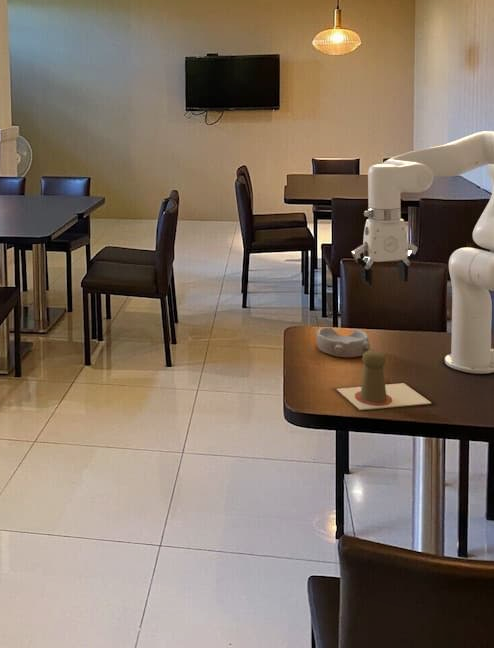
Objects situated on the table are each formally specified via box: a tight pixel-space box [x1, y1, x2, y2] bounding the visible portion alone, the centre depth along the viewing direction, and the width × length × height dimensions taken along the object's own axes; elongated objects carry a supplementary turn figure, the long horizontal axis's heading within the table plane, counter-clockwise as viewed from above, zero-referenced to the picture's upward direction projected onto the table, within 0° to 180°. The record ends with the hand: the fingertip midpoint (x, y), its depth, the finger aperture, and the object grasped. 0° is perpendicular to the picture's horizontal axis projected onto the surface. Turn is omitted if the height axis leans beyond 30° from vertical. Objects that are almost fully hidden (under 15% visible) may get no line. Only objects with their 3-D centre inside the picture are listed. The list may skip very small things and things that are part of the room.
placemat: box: [336, 382, 433, 411], centre depth 177 cm, size 18×12×1 cm, turn 99°
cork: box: [360, 350, 387, 403], centre depth 175 cm, size 6×6×11 cm
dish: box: [316, 326, 371, 358], centre depth 208 cm, size 14×14×5 cm
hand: (385, 281), depth 183 cm, fingers open, 9 cm apart
